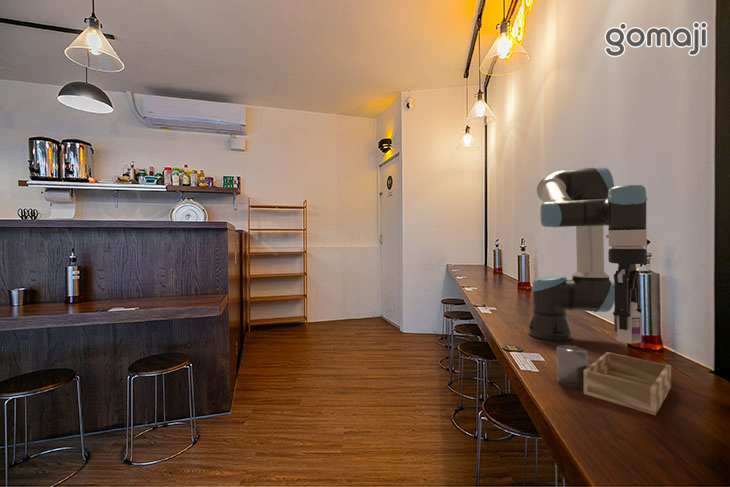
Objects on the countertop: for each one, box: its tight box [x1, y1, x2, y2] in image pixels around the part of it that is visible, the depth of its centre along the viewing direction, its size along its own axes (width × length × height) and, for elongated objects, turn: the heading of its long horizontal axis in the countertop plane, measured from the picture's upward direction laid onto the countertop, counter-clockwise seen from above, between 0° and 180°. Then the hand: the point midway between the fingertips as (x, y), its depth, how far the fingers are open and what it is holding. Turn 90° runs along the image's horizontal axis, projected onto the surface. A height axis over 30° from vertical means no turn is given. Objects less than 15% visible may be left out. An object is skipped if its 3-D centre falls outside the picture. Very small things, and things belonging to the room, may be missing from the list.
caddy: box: [583, 351, 672, 416], centre depth 83 cm, size 20×14×6 cm
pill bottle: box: [613, 302, 642, 344], centre depth 83 cm, size 5×5×10 cm
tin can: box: [556, 344, 588, 389], centre depth 88 cm, size 7×7×9 cm
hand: (627, 339), depth 83 cm, fingers closed on pill bottle, 5 cm apart
